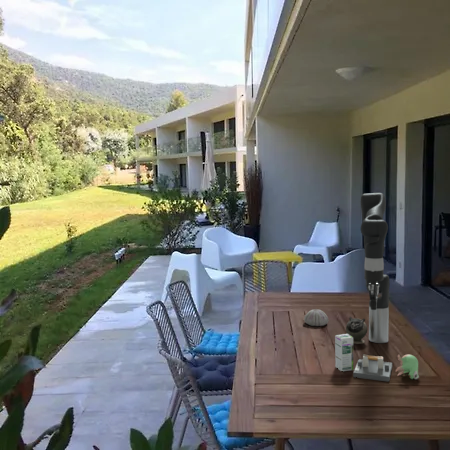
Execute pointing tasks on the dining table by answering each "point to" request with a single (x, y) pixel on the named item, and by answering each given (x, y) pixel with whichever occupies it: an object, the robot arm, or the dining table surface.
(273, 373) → the dining table surface
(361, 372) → the breaker panel
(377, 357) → the breaker paddles
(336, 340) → the syrup box
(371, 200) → the robot arm
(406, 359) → the frog
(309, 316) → the sea urchin shell
